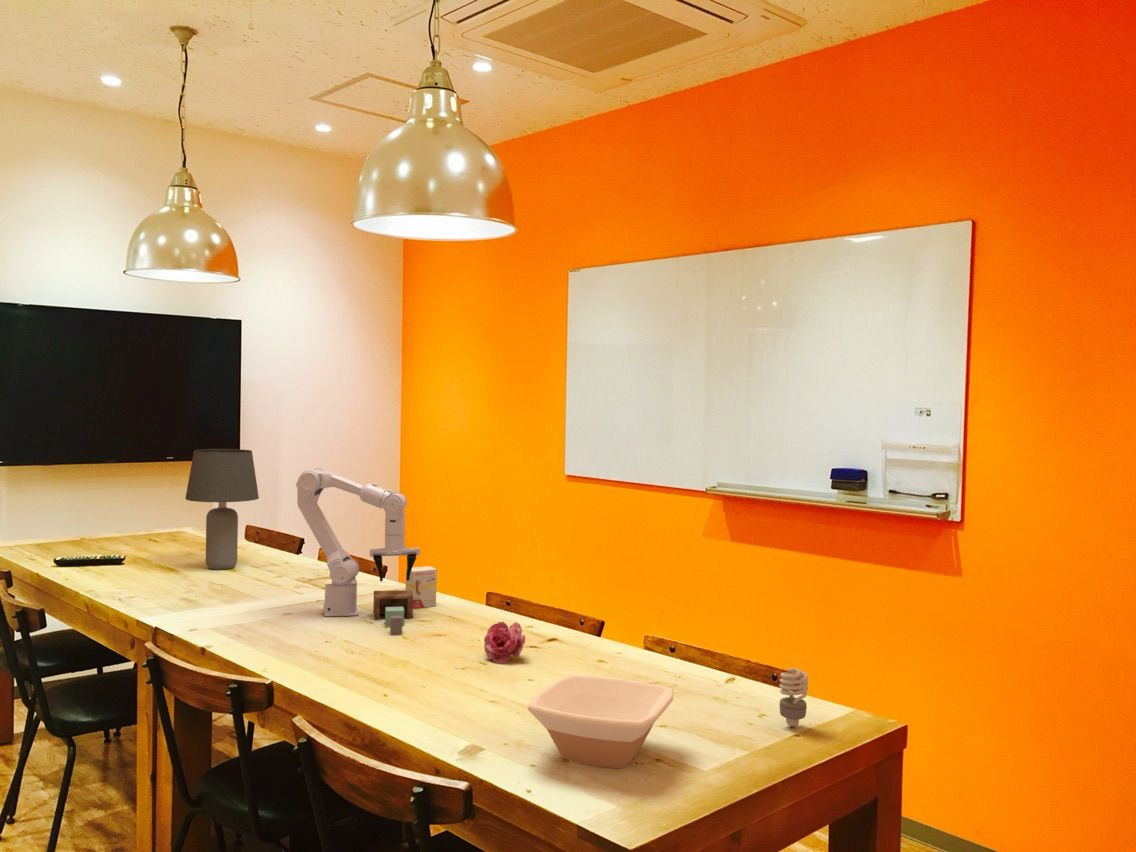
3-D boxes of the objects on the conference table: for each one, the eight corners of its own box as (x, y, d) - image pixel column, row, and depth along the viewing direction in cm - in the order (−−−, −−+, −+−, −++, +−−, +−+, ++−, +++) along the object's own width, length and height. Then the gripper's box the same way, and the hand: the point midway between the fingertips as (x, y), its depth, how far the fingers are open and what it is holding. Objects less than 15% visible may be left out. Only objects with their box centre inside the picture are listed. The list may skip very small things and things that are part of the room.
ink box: (411, 609, 282) (412, 570, 282) (404, 606, 286) (405, 568, 286) (436, 606, 287) (437, 568, 287) (429, 603, 291) (430, 565, 291)
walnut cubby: (374, 619, 268) (374, 596, 268) (373, 613, 276) (373, 590, 276) (412, 618, 270) (413, 595, 270) (410, 612, 278) (411, 590, 278)
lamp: (243, 575, 327) (245, 453, 326) (172, 573, 327) (173, 451, 326) (267, 562, 352) (269, 449, 351) (201, 560, 352) (203, 447, 351)
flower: (503, 678, 226) (480, 645, 225) (495, 670, 236) (472, 638, 235) (540, 649, 229) (518, 617, 228) (530, 642, 239) (508, 611, 238)
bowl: (515, 766, 164) (517, 707, 164) (565, 722, 187) (566, 670, 187) (644, 790, 156) (646, 727, 156) (680, 741, 179) (682, 686, 179)
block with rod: (387, 634, 252) (387, 618, 251) (385, 622, 265) (385, 607, 265) (405, 634, 253) (406, 617, 253) (402, 622, 266) (403, 606, 266)
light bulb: (774, 722, 191) (776, 664, 190) (801, 722, 191) (803, 664, 191) (783, 732, 185) (785, 672, 185) (810, 732, 186) (812, 672, 185)
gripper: (369, 536, 268) (369, 583, 268) (420, 535, 271) (420, 581, 271) (369, 533, 275) (369, 579, 275) (418, 532, 278) (418, 577, 278)
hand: (394, 580), depth 274 cm, fingers open, 7 cm apart
